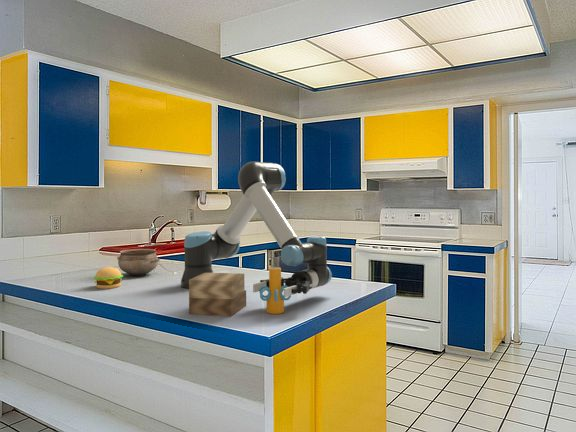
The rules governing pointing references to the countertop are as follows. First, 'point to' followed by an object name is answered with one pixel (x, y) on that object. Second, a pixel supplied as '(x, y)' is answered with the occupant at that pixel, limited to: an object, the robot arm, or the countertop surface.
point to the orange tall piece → (274, 292)
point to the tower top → (216, 285)
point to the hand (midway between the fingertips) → (268, 290)
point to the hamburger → (108, 278)
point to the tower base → (217, 305)
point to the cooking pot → (138, 261)
